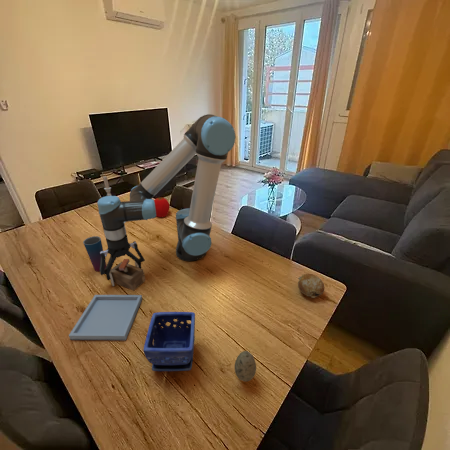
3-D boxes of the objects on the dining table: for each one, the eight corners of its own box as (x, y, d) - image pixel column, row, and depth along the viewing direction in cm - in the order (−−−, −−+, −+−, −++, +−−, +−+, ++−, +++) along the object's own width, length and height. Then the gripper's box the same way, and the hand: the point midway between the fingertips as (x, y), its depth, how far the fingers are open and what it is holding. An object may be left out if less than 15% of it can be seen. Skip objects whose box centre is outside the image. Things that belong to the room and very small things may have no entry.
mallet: (134, 276, 107) (130, 258, 103) (129, 286, 102) (124, 268, 97) (127, 276, 107) (123, 258, 103) (122, 286, 102) (117, 267, 97)
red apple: (158, 222, 152) (155, 203, 146) (150, 216, 159) (147, 197, 153) (174, 216, 159) (172, 198, 153) (165, 211, 166) (163, 193, 160)
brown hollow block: (145, 280, 105) (143, 269, 102) (133, 290, 100) (130, 279, 97) (124, 272, 110) (121, 261, 107) (112, 282, 104) (108, 270, 101)
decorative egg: (254, 365, 72) (256, 343, 68) (255, 387, 67) (258, 365, 62) (234, 365, 73) (234, 343, 68) (234, 386, 67) (234, 364, 63)
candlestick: (105, 220, 154) (93, 173, 140) (127, 217, 157) (117, 171, 143) (103, 230, 143) (89, 180, 129) (126, 226, 147) (116, 178, 132)
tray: (142, 299, 96) (141, 295, 95) (125, 340, 80) (124, 335, 79) (96, 299, 96) (95, 294, 95) (70, 340, 80) (68, 335, 79)
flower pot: (198, 335, 81) (196, 310, 76) (195, 376, 70) (192, 350, 64) (157, 337, 81) (152, 311, 75) (148, 378, 69) (141, 351, 64)
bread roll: (300, 302, 98) (309, 296, 91) (291, 278, 103) (298, 271, 97) (322, 298, 100) (332, 291, 94) (312, 274, 106) (320, 267, 99)
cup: (102, 273, 109) (93, 245, 102) (89, 271, 110) (79, 243, 103) (111, 264, 115) (104, 237, 108) (98, 262, 116) (90, 235, 109)
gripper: (142, 224, 102) (149, 265, 113) (81, 239, 91) (95, 283, 102) (148, 232, 97) (155, 275, 108) (84, 249, 86) (99, 295, 97)
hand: (126, 279), depth 105 cm, fingers closed on brown hollow block, 10 cm apart
